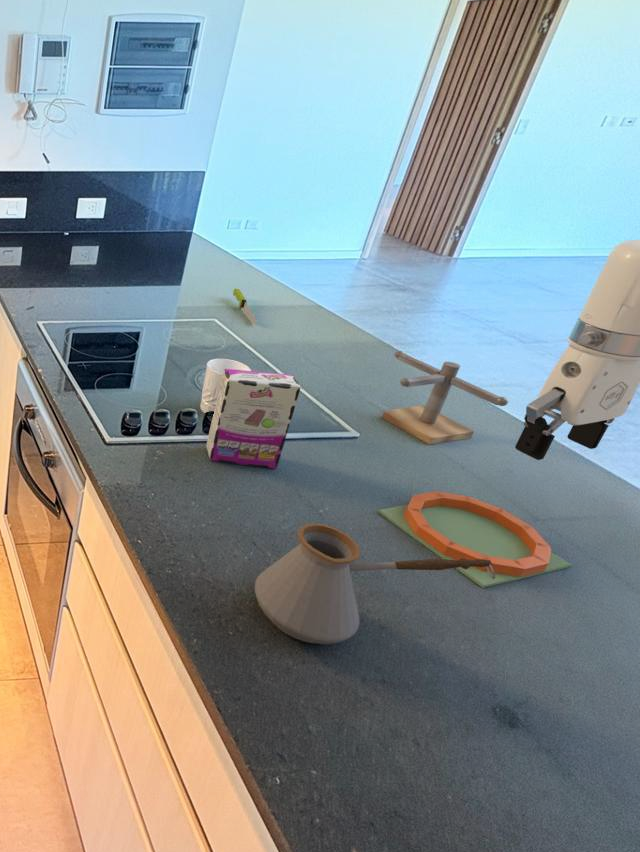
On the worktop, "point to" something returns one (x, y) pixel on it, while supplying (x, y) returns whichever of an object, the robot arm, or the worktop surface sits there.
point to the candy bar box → (252, 417)
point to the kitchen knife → (244, 305)
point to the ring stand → (435, 403)
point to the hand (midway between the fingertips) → (554, 448)
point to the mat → (473, 539)
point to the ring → (507, 520)
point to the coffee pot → (326, 584)
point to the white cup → (216, 380)
